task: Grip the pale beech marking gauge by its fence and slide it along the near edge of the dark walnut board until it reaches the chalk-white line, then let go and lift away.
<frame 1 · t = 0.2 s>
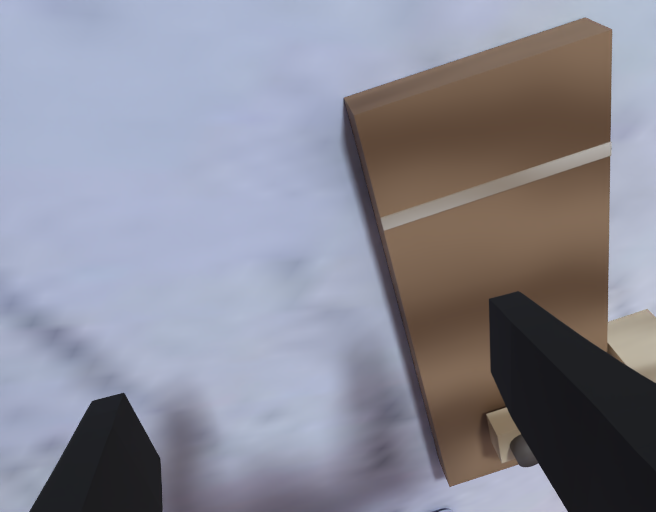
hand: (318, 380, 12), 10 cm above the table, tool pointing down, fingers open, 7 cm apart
marking gauge: (619, 348, 28), on the table
walnut board: (495, 291, 25), on the table
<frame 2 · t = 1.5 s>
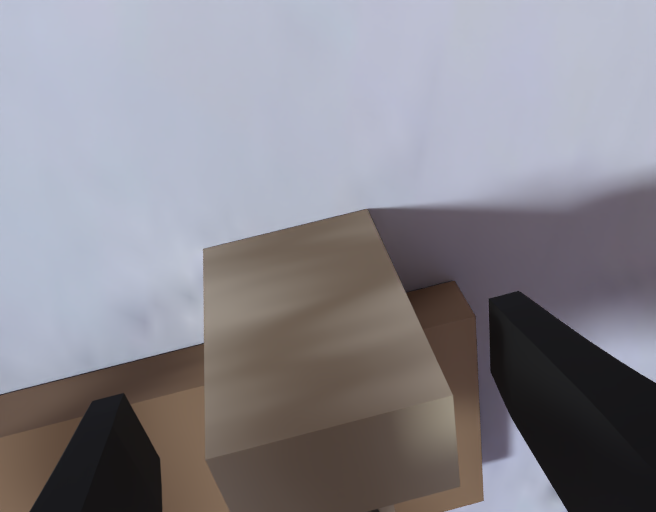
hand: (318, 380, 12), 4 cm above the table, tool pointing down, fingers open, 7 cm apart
marking gauge: (296, 270, 15), on the table
walnut board: (138, 466, 18), on the table
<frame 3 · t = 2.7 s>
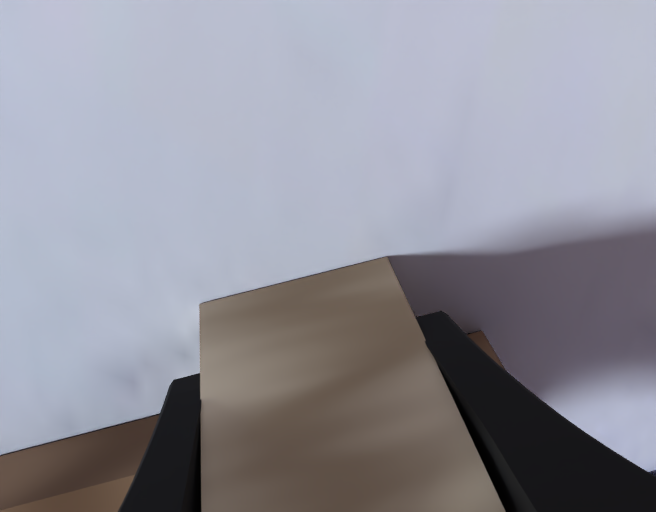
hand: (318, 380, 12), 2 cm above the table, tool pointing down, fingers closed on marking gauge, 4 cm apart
marking gauge: (305, 324, 13), on the table, touching gripper
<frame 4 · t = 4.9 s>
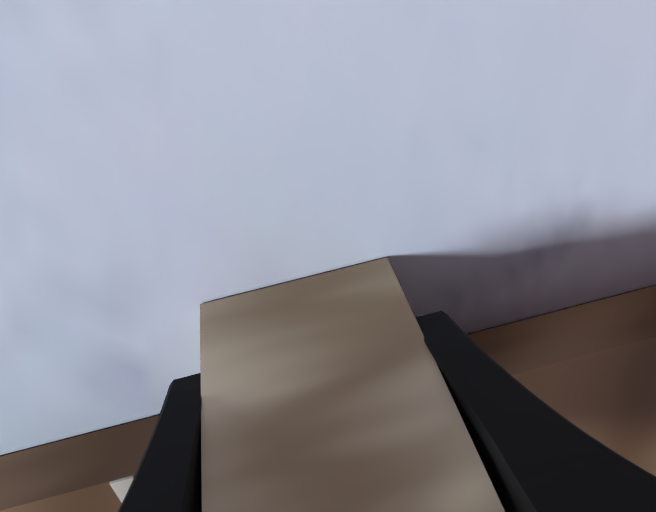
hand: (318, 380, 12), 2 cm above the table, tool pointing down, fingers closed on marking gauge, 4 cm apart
marking gauge: (305, 324, 13), on the table, touching gripper
walnut board: (396, 460, 17), on the table
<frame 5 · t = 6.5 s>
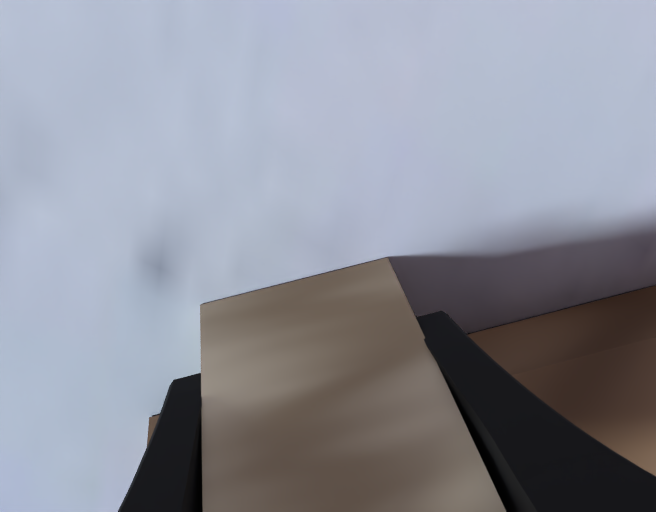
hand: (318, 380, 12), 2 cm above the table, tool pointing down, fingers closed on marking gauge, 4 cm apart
marking gauge: (306, 325, 13), on the table, touching gripper
walnut board: (554, 417, 17), on the table
when the fingers open (2 cm above the table, at t = 7.3 s): marking gauge stays where it is, on the table.
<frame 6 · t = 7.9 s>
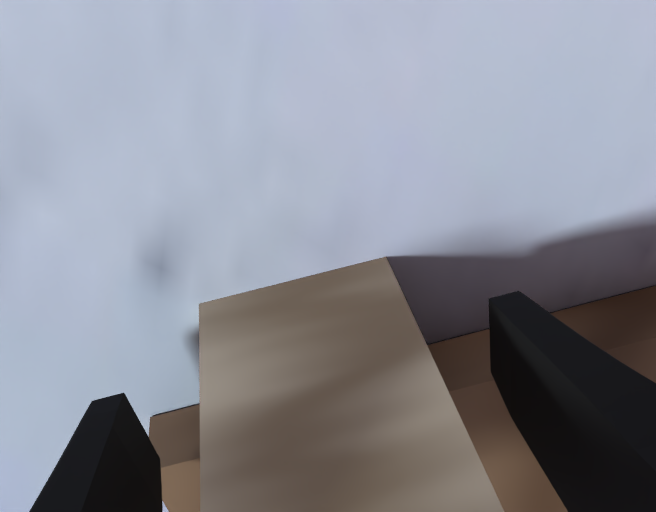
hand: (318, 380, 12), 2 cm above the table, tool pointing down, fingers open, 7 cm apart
marking gauge: (304, 324, 13), on the table
walnut board: (554, 417, 17), on the table
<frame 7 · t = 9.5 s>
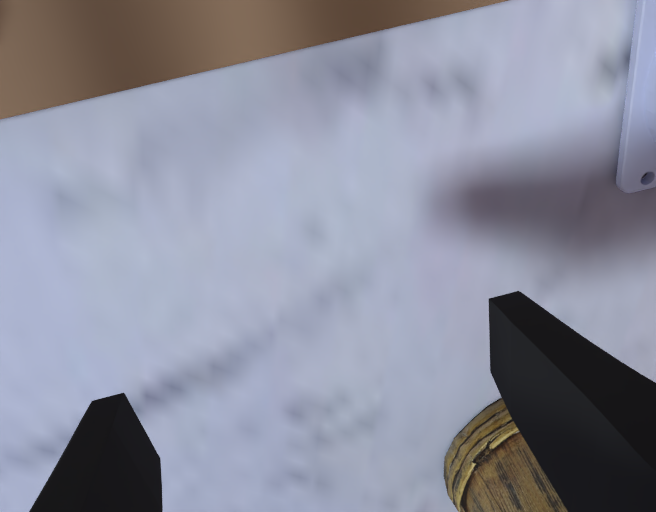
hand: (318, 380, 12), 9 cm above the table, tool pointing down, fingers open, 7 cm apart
wooden mug: (486, 462, 31), on the table
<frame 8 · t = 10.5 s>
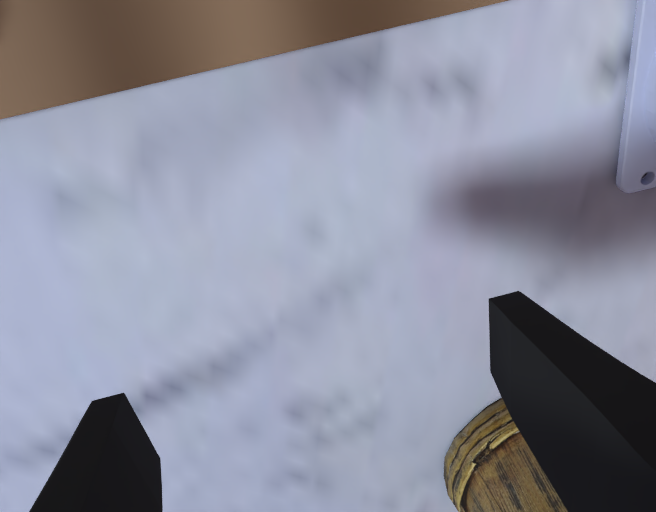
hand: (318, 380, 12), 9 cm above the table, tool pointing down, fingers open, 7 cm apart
wooden mug: (486, 462, 31), on the table
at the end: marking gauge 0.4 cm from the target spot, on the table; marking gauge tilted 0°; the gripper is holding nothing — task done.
